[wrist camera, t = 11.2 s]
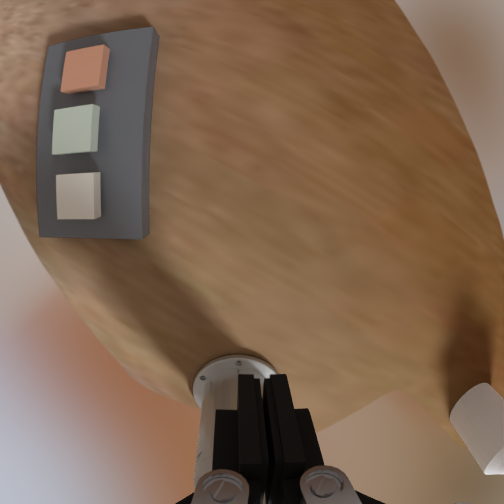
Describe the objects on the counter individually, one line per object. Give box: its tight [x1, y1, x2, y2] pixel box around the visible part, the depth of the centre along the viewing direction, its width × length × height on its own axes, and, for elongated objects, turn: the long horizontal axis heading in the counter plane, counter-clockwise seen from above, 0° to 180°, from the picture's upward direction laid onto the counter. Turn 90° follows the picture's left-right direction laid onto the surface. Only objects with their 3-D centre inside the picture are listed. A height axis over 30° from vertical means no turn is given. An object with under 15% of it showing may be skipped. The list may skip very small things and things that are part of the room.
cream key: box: [56, 172, 101, 219], centre depth 30 cm, size 5×5×2 cm
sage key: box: [52, 104, 100, 155], centre depth 27 cm, size 5×5×2 cm
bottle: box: [450, 383, 504, 475], centre depth 36 cm, size 12×12×25 cm
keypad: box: [36, 27, 159, 240], centre depth 31 cm, size 24×14×3 cm, turn 177°
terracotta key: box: [61, 45, 110, 94], centre depth 26 cm, size 5×5×2 cm
